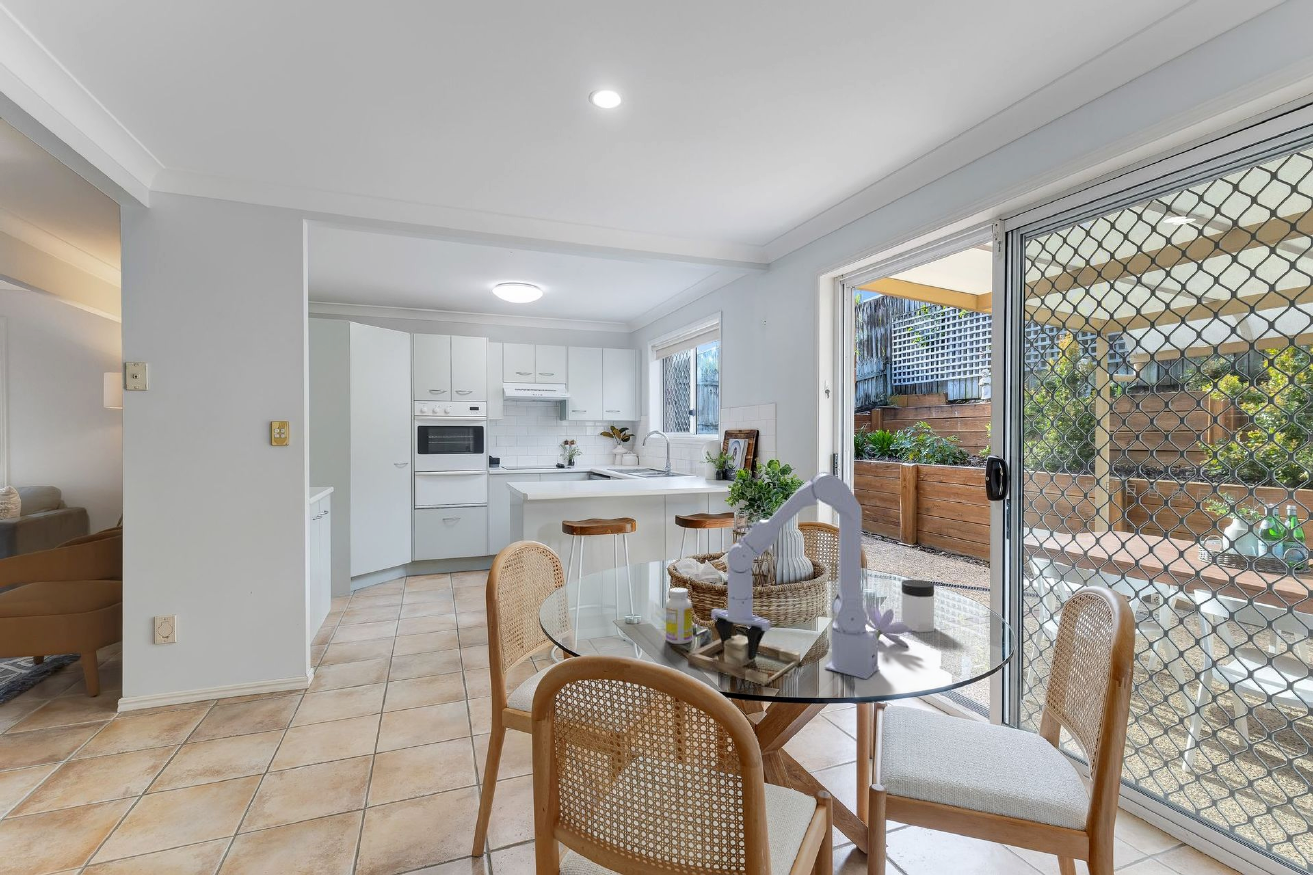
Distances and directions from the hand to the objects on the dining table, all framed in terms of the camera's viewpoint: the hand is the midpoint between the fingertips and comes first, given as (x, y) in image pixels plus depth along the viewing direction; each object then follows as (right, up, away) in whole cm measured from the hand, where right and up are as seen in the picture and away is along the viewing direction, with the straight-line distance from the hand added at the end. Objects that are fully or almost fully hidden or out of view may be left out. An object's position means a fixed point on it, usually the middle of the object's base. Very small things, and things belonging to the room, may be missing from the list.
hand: (739, 654), depth 139 cm
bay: (+1, -1, -1) cm, 2 cm away
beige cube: (0, -2, 0) cm, 2 cm away
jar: (+51, -2, +24) cm, 57 cm away
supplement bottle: (-14, -1, +13) cm, 19 cm away
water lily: (+38, -2, +11) cm, 39 cm away
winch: (-8, -1, +9) cm, 12 cm away
